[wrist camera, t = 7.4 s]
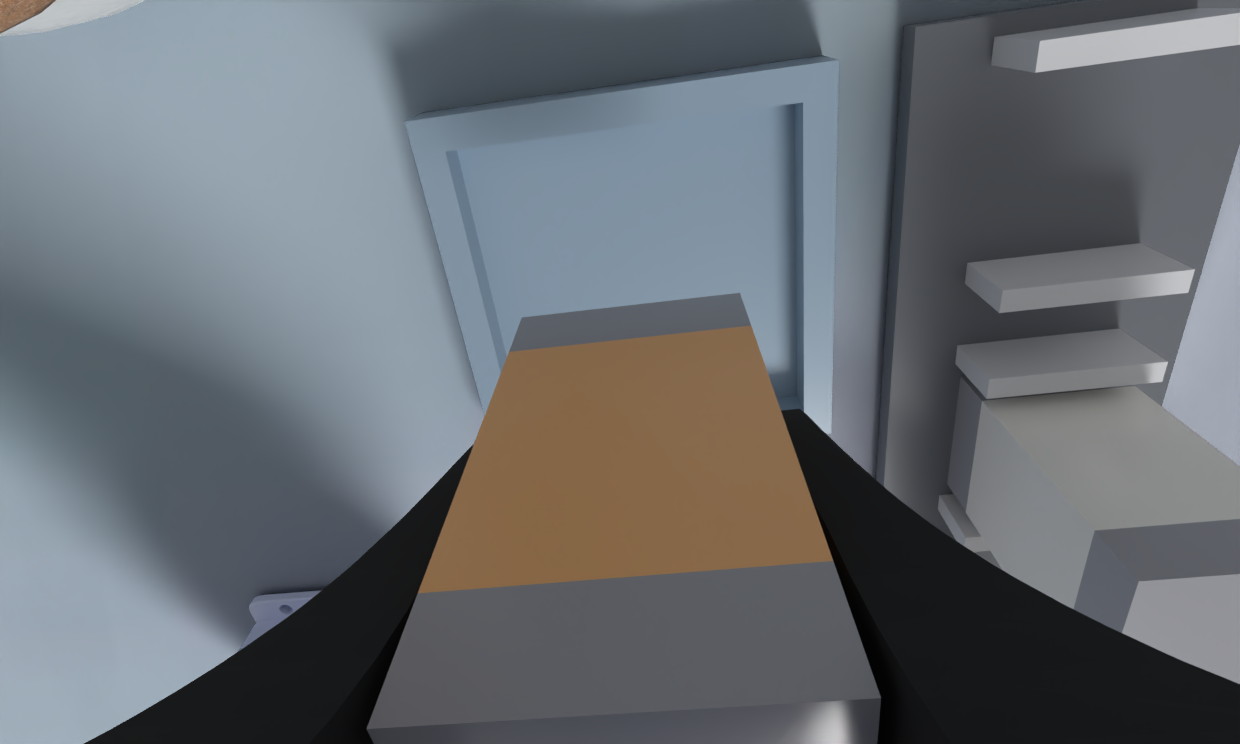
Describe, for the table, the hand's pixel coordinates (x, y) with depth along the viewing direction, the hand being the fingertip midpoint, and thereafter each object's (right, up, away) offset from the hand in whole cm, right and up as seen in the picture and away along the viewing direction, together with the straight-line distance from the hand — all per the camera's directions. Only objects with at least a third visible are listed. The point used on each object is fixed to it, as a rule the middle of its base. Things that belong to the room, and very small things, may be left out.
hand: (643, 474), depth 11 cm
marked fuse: (0, +1, +2) cm, 2 cm away
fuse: (+12, 0, +9) cm, 15 cm away
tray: (0, +5, +8) cm, 9 cm away
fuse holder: (+12, 0, +10) cm, 16 cm away
